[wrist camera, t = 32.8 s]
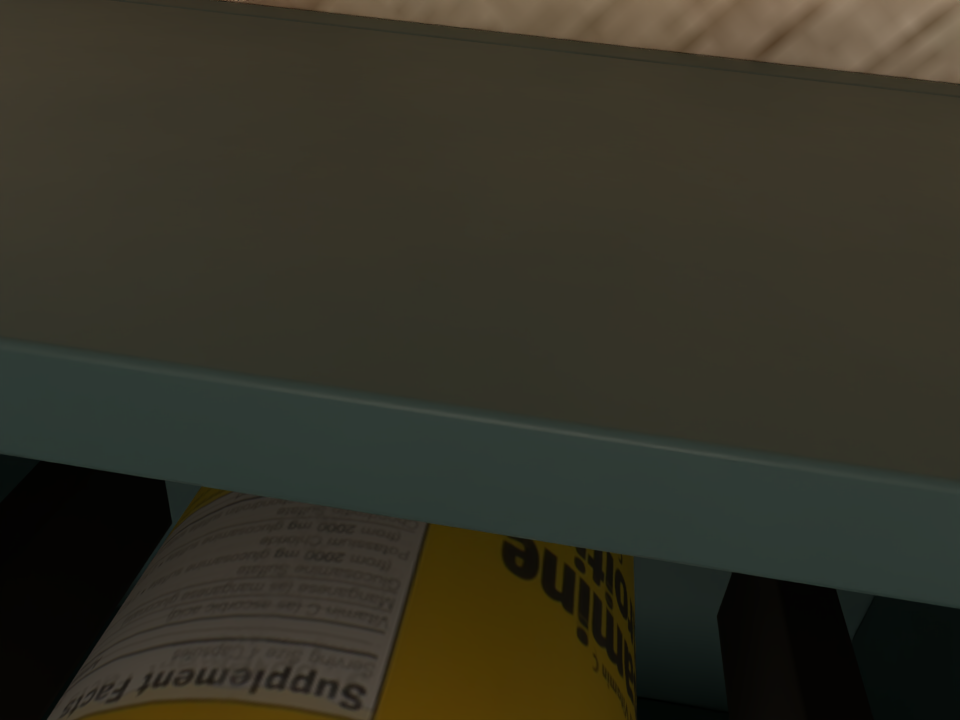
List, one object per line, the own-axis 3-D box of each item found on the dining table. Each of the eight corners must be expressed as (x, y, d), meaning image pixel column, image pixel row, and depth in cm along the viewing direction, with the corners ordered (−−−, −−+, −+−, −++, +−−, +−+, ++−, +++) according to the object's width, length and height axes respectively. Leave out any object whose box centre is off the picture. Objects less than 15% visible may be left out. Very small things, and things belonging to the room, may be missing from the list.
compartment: (1150, 104, 11) (2342, 693, 3) (826, 719, 18) (969, 1322, 11) (-102, -37, 12) (-1247, 154, 5) (75, 589, 19) (-255, 1044, 12)
